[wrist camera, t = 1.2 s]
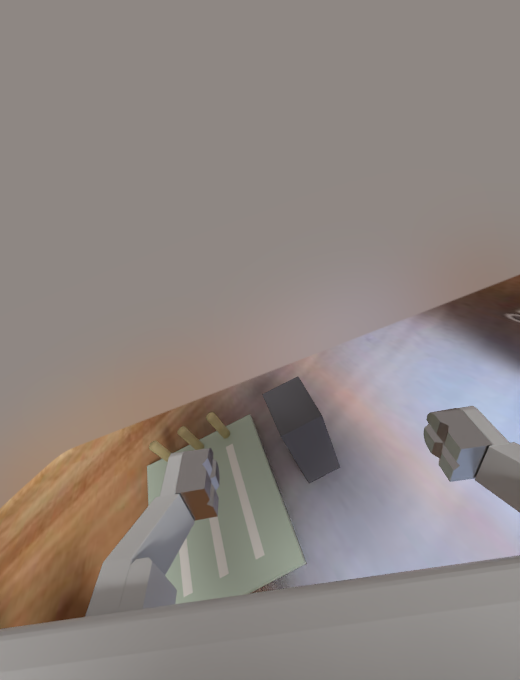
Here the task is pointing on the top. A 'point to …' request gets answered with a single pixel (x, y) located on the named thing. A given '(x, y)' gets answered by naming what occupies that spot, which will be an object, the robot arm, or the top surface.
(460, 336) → the top surface
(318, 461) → the block
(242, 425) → the pinboard
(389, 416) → the top surface
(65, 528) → the top surface
